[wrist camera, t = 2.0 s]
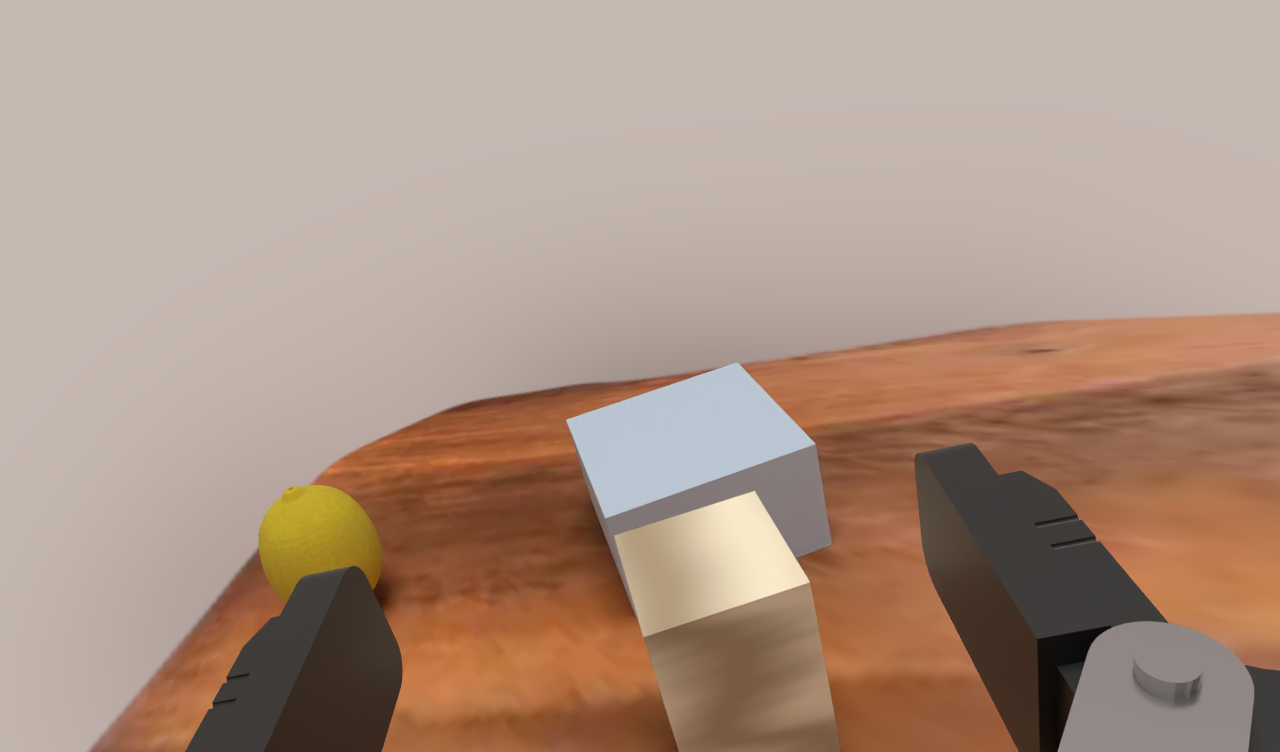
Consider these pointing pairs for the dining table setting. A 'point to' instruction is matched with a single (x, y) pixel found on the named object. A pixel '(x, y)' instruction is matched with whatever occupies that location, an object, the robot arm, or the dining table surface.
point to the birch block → (730, 631)
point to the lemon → (316, 537)
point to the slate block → (700, 458)
